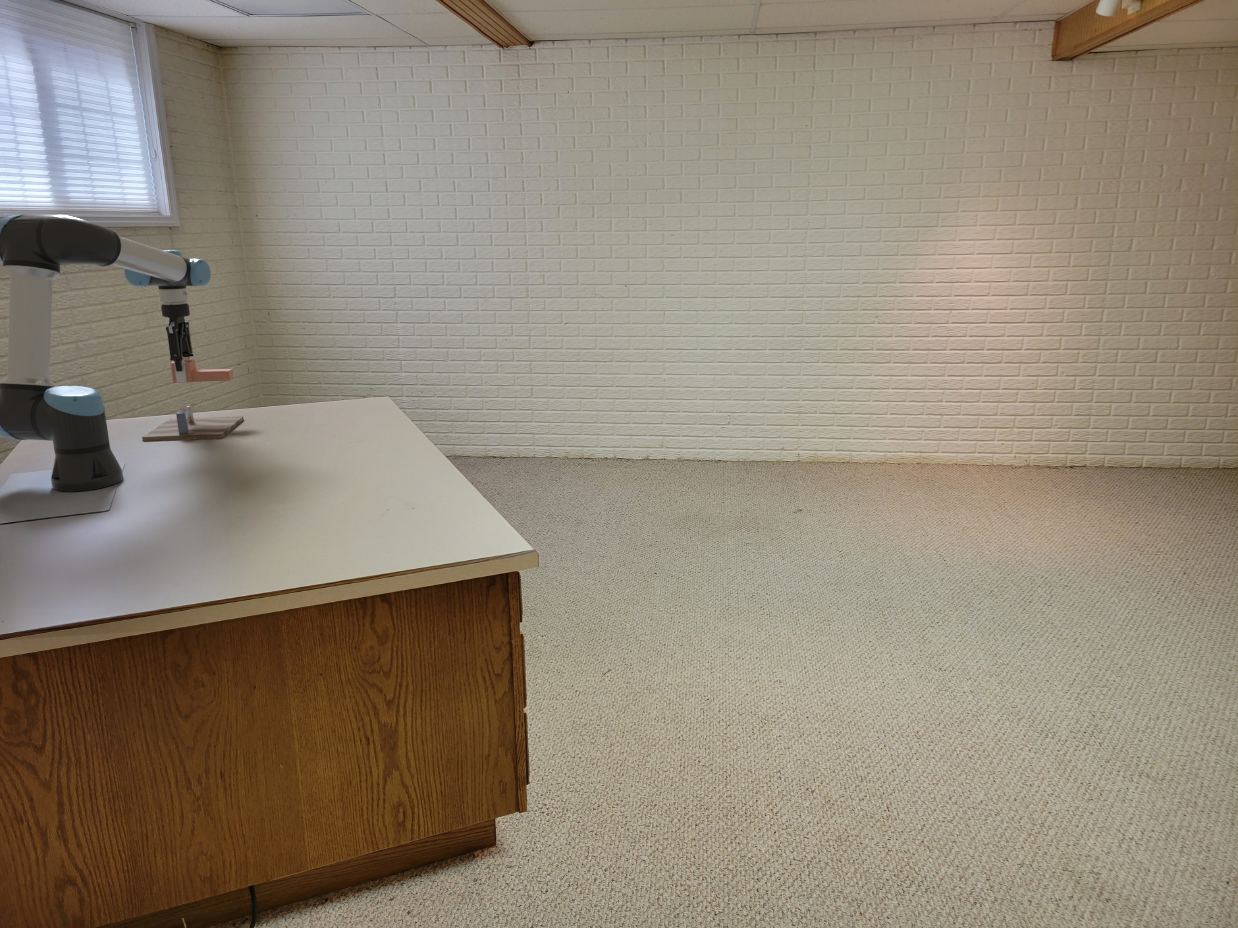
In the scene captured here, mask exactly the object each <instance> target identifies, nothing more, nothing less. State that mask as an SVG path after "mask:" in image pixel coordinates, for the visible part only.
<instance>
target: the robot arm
mask: <svg viewBox="0 0 1238 928" xmlns="http://www.w3.org/2000/svg"><path fill="white" fill-rule="evenodd" d="M0 261H1V262H2V269H3V270H4V271H5V272H6V274H8V275H9V299H8V300H9V304H8V305H9V307H8V312H9V313H8V333H7V335H8V339H7V341H8V342H7V372H6V376H5V378H3V379H1V380H0V436H1V437H5V438H8V439H15V440H17V441H27V440H31V441H52V444H53V450H54V461H53V465H52V466H53V467H52V471H51V477H50V480H51V486H52V489H53V490H55V491H59V492H82V491H91V490H92V491H93V490H97V489H101V488H106V487H110V486H113V485H116V484H118V483H119V482H122V481H123V480H124V474H123V469H122V467H121V466H120V464H119V461H118V460H117V458H116V456H115V454H114V453H113V451H112V449H111V444H110V438H109V437H110V436H109V431H108V424H107V418H106V417H107V416H106V411H105V409H106V408H105V405H104V402H103V398H102V395H101V393H100V392H99V391H98V390H96V389H95V388H92V387H89V386H81V385H80V386H79V385H70V386H69V385H61V386H60V385H59V386H57V385H56V384H55V383H54V382H53V381H52V380H51V378H50V376H51V375H50V373H51V372H50V369H51V367H50V366H51V343H52V342H51V339H52V338H51V337H52V304H53V282H54V281H55V280H56V279H57V278H58V277H60V276H61V265H63V266H64V265H92V266H93V265H95V266H99V267H110V266H114V267H117V268H121V269H124V271H123V272H124V277H125V279H126V280H127V282H128V283H129V284H130V285H131V286H133V287H134V286H135V287H141V288H144V287H147V286H150V287H151V286H153V287H154V286H156V287H158V296H159V297H158V298H159V301H160V304H161V303H162V304H161V305H160V309H161V315H162V317H163V318H168V319H169V320H168V321H169V323H168V325H167V326H165V330H166V333H167V340H168V348H169V349H168V351H169V356H170V358H169V360H170V361H171V362H174V366H175V373H176V380H177V382H183V383H188V382H187V378H186V371H185V363H184V360H192V357H194V353H193V347H192V341H191V340H192V339H191V333H190V322H189V321H188V320H187V321H186V319H185V317H189V316H191V312H190V305H189V303H187V302H189V299H188V295H189V294H190V292H189V291H187V287H194V288H195V287H203V286H206V285H208V283H209V282H210V281H211V273H212V272H211V267H210V265H209V264H208V262H207V261H206V260H204V259H201V258H195V257H194V258H188V257H184V256H183V255H182V251H180V250H177V249H159V248H157V247H153V246H150V245H147V244H144V243H141V242H138V241H136V240H133V239H129V238H126V237H122V236H120V235H119V233H117V232H116V231H115V230H114V229H112V228H109V227H106V226H103V225H100V224H97V223H94V222H91V221H89V220H86V219H82V218H79V217H75V216H71V215H66V214H26V213H25V214H24V213H23V214H17V215H16V214H15V215H10V216H5V217H4V218H2V219H1V220H0Z"/></svg>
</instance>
